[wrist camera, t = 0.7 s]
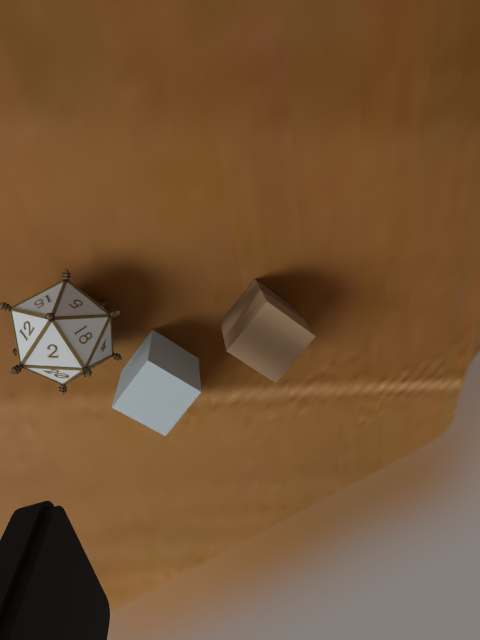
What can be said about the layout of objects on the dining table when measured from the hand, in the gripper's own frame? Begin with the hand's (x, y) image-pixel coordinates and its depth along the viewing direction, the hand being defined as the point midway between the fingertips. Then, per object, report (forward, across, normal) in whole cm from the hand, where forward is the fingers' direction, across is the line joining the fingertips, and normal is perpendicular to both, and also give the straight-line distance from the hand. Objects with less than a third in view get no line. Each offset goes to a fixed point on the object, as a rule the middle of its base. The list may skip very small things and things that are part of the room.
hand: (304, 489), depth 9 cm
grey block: (+30, +7, +10) cm, 32 cm away
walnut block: (+29, -3, +7) cm, 30 cm away
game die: (+30, +12, +3) cm, 32 cm away
